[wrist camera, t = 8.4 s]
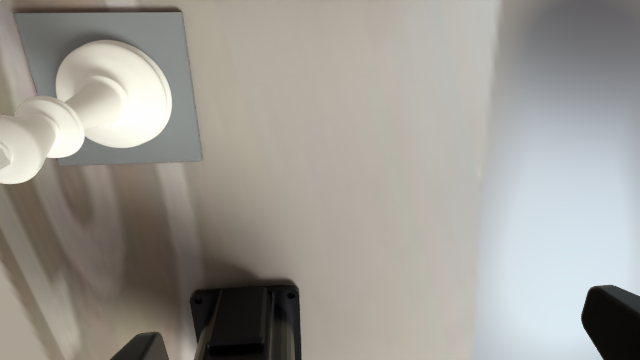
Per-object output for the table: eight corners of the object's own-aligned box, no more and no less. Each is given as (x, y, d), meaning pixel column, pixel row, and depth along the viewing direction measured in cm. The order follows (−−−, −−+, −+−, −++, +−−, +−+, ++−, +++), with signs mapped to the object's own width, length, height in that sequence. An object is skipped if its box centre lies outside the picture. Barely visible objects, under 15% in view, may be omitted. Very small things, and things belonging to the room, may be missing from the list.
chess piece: (187, 133, 19) (92, 244, 10) (91, 155, 19) (-94, 286, 10) (148, 28, 17) (-19, 44, 8) (41, 53, 17) (-251, 99, 8)
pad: (202, 159, 20) (201, 161, 19) (62, 163, 19) (59, 166, 19) (182, 12, 17) (180, 12, 17) (17, 13, 16) (13, 13, 16)
